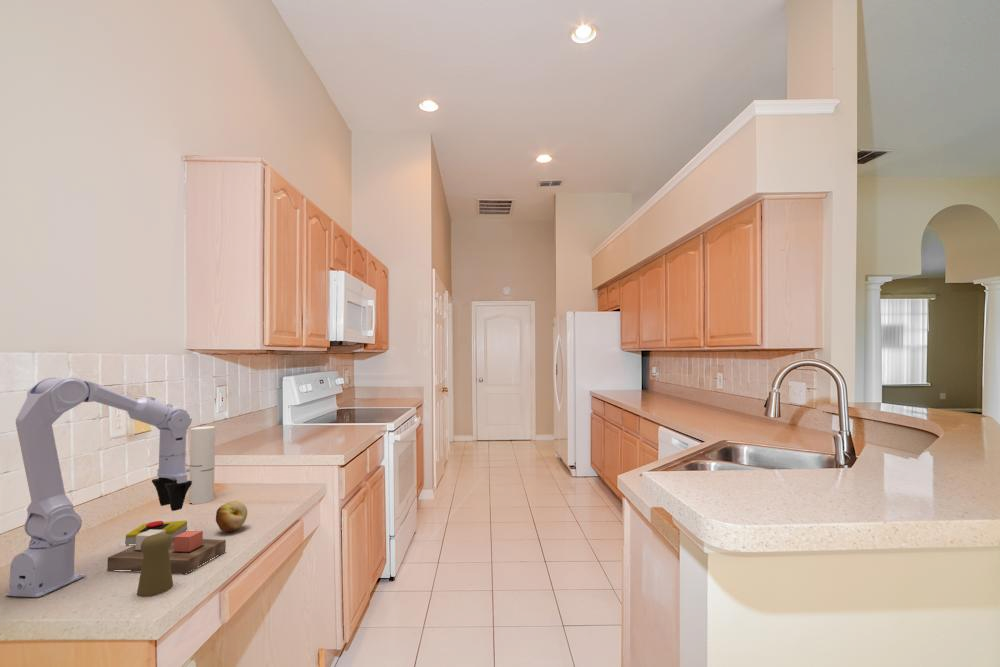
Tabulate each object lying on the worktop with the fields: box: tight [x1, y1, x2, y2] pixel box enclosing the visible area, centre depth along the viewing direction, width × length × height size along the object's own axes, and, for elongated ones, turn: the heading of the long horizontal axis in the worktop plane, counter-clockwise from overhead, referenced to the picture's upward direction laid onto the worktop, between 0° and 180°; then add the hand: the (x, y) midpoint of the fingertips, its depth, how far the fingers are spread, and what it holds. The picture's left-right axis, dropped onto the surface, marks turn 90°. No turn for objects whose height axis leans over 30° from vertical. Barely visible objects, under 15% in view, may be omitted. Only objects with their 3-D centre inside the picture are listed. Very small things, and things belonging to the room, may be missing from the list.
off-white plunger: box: [134, 529, 165, 550], centre depth 111 cm, size 4×4×3 cm
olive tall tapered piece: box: [136, 533, 174, 598], centre depth 96 cm, size 6×6×11 cm
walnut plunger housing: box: [106, 538, 227, 574], centre depth 110 cm, size 12×20×3 cm, turn 83°
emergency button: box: [124, 520, 188, 545], centre depth 126 cm, size 9×4×15 cm
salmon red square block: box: [174, 530, 204, 552], centre depth 109 cm, size 4×4×3 cm
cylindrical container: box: [188, 425, 216, 505], centre depth 160 cm, size 7×7×25 cm
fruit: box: [215, 500, 248, 533], centre depth 130 cm, size 8×8×8 cm
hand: (170, 507), depth 121 cm, fingers open, 7 cm apart
